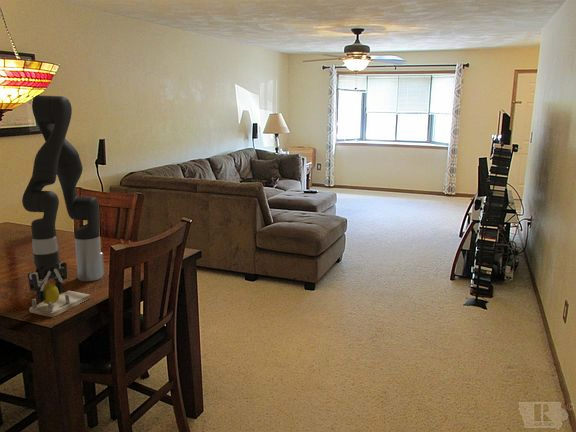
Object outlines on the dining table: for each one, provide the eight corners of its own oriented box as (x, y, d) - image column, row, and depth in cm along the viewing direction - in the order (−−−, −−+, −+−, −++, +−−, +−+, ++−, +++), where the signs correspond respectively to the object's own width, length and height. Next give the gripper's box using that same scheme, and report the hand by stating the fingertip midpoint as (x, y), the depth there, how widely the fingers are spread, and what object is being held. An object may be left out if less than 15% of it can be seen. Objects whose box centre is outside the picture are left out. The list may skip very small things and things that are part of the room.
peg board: (69, 294, 176) (68, 282, 174) (90, 298, 172) (89, 286, 171) (29, 312, 160) (28, 299, 159) (52, 317, 157) (50, 304, 156)
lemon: (39, 306, 161) (36, 284, 159) (54, 299, 166) (51, 278, 163) (48, 310, 158) (45, 288, 156) (63, 304, 163) (61, 283, 161)
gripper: (54, 243, 165) (59, 287, 169) (18, 254, 152) (24, 302, 156) (71, 245, 163) (75, 291, 167) (35, 257, 150) (41, 306, 154)
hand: (50, 296), depth 161 cm, fingers open, 6 cm apart
